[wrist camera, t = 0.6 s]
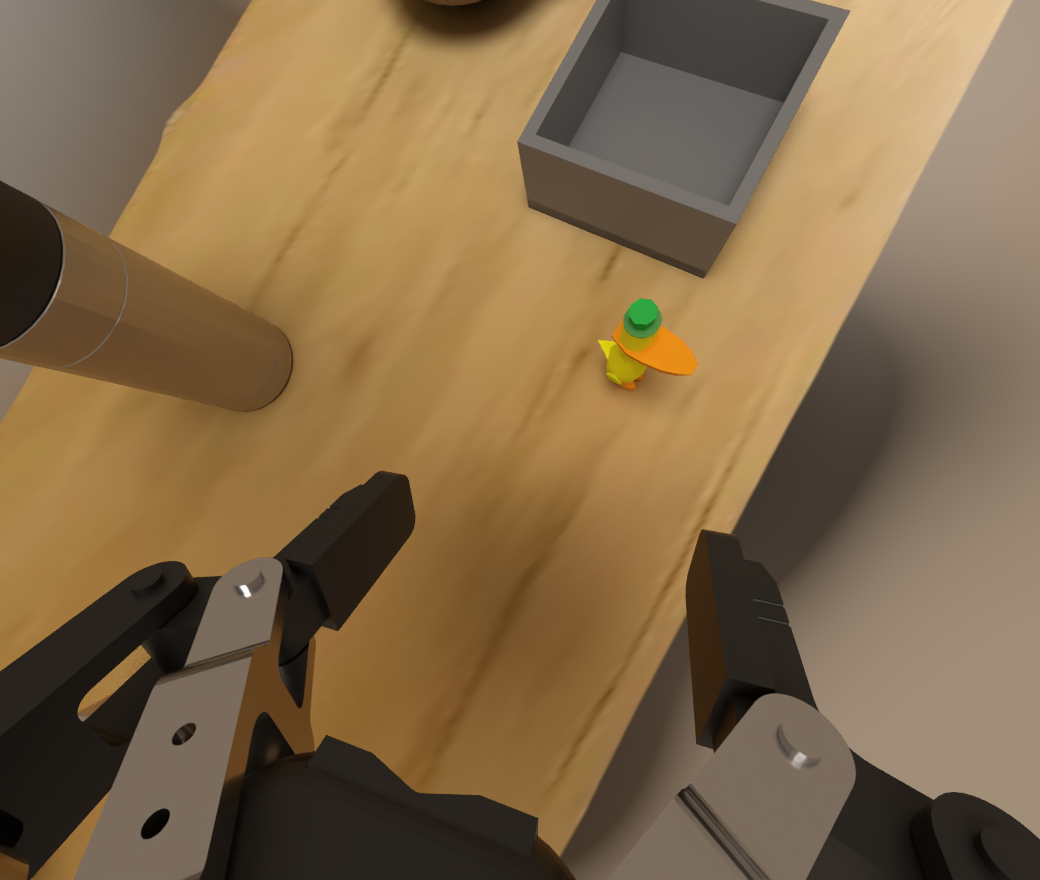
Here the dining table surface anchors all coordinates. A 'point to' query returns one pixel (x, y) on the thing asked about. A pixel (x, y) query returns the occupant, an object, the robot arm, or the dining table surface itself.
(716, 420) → the dining table surface
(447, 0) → the cooking pot
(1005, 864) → the robot arm
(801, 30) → the bin
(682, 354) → the toy figure
